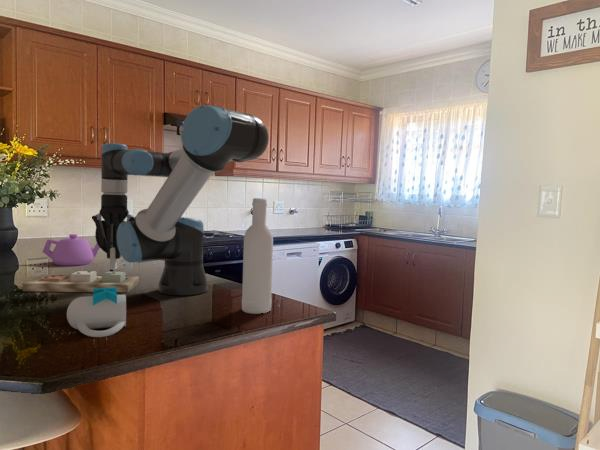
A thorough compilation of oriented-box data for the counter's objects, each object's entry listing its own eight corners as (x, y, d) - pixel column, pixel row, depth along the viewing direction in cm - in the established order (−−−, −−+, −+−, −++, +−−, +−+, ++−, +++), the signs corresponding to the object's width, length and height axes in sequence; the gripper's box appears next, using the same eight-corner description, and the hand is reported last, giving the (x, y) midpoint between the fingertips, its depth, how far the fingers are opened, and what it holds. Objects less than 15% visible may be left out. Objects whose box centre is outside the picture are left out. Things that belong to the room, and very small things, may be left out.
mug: (67, 283, 98) (125, 281, 103) (68, 316, 102) (124, 312, 107) (62, 317, 89) (127, 313, 93) (64, 352, 92) (126, 346, 97)
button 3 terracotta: (66, 283, 142) (66, 274, 141) (59, 286, 136) (59, 277, 136) (48, 283, 141) (48, 274, 141) (39, 286, 135) (39, 277, 135)
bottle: (247, 315, 114) (250, 198, 112) (237, 307, 121) (240, 197, 119) (276, 312, 118) (279, 199, 116) (264, 305, 125) (267, 198, 123)
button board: (138, 283, 148) (138, 276, 148) (127, 292, 135) (127, 284, 135) (43, 282, 144) (43, 275, 144) (22, 291, 131) (22, 283, 131)
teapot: (40, 267, 171) (40, 236, 171) (44, 261, 185) (44, 232, 185) (102, 265, 180) (103, 236, 180) (102, 259, 195) (102, 232, 194)
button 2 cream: (96, 279, 143) (96, 270, 142) (90, 282, 137) (90, 273, 137) (78, 279, 142) (78, 270, 142) (71, 282, 136) (71, 273, 136)
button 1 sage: (125, 279, 144) (125, 271, 143) (120, 283, 138) (120, 274, 138) (107, 279, 143) (107, 270, 143) (101, 283, 137) (101, 274, 137)
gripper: (139, 194, 143) (138, 267, 145) (96, 193, 142) (96, 266, 143) (132, 194, 136) (131, 271, 137) (88, 193, 134) (87, 270, 136)
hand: (113, 268), depth 140 cm, fingers closed
